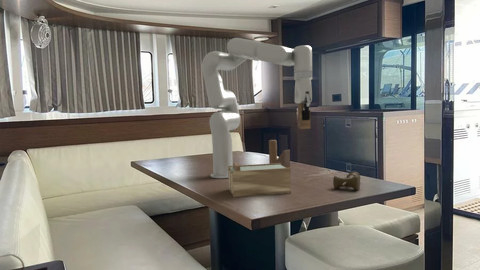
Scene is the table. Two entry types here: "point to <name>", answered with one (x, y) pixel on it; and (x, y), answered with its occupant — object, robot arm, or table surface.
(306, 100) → the robot arm
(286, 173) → the wooden box
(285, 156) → the wooden block
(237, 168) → the lid
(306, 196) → the table surface
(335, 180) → the kendama
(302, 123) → the wooden square column
